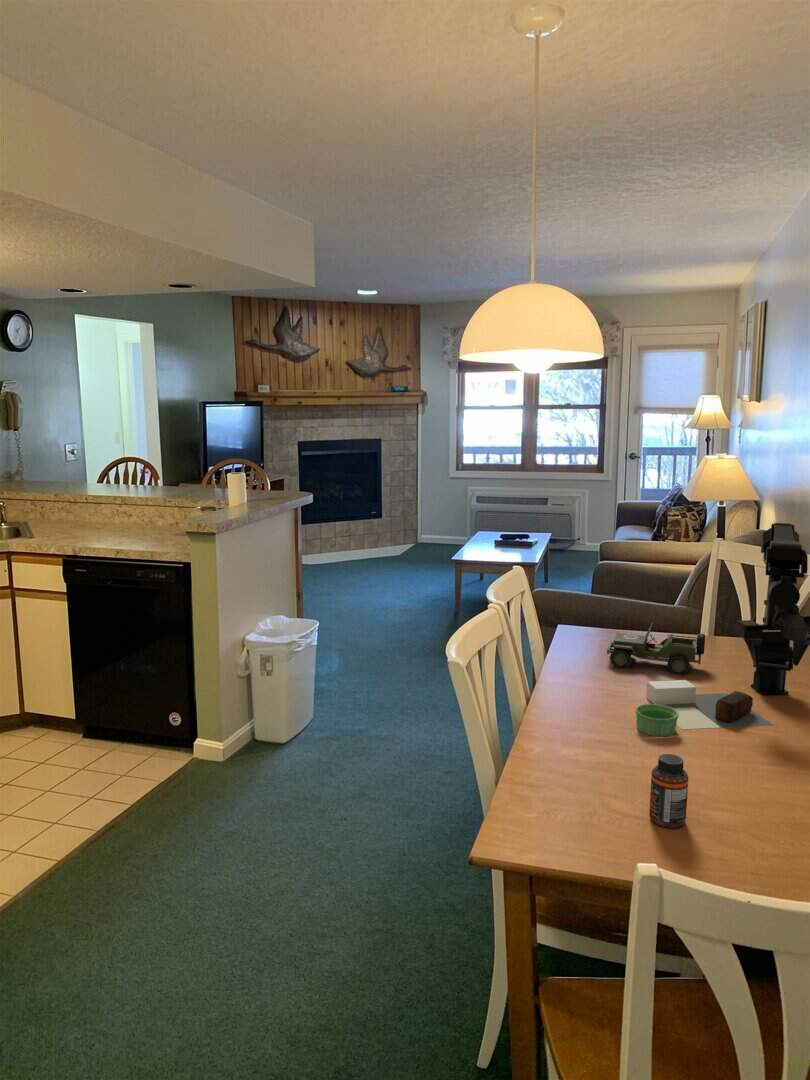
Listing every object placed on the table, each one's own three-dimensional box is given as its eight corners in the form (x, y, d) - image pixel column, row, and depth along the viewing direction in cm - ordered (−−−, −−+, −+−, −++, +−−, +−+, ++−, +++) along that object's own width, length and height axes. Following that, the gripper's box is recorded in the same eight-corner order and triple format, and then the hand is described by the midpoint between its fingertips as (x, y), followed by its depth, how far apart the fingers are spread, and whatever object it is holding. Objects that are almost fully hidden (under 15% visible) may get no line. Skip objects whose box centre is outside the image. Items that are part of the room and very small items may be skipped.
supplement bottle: (643, 812, 136) (646, 751, 134) (676, 811, 136) (680, 749, 135) (657, 830, 130) (660, 766, 128) (691, 829, 130) (696, 765, 129)
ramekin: (680, 726, 173) (681, 708, 172) (673, 741, 165) (674, 722, 165) (639, 719, 177) (640, 700, 177) (630, 733, 169) (631, 714, 169)
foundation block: (685, 695, 191) (686, 680, 191) (695, 703, 186) (696, 687, 186) (646, 697, 190) (647, 681, 189) (655, 704, 185) (656, 688, 185)
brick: (731, 724, 174) (733, 704, 173) (714, 719, 176) (715, 699, 176) (752, 712, 181) (754, 693, 180) (735, 707, 184) (737, 688, 183)
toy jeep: (610, 654, 225) (611, 617, 223) (703, 665, 216) (705, 626, 214) (605, 667, 213) (606, 628, 212) (702, 678, 205) (705, 638, 203)
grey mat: (726, 693, 193) (726, 692, 193) (773, 725, 174) (773, 724, 174) (643, 697, 191) (643, 696, 190) (681, 730, 171) (681, 729, 171)
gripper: (759, 608, 166) (753, 678, 169) (843, 606, 167) (837, 676, 170) (734, 595, 177) (729, 661, 180) (814, 594, 178) (808, 660, 181)
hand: (776, 665), depth 177 cm, fingers open, 9 cm apart
